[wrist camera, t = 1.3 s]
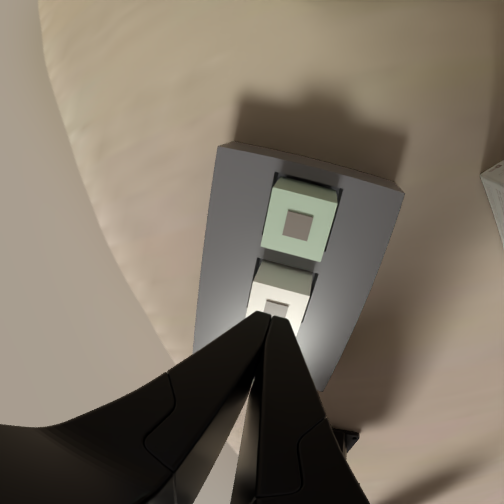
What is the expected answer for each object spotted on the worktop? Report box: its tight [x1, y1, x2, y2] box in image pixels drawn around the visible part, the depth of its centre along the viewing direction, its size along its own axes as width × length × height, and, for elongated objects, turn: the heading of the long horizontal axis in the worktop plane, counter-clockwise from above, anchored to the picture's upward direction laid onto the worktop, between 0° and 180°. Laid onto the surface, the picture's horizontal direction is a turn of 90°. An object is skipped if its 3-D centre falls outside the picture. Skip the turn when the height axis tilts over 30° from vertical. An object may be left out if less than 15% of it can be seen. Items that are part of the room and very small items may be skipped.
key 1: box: [261, 176, 338, 262], centre depth 16 cm, size 3×3×3 cm
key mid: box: [245, 259, 313, 336], centre depth 18 cm, size 3×3×3 cm
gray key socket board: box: [193, 141, 405, 392], centre depth 20 cm, size 15×10×3 cm, turn 170°
